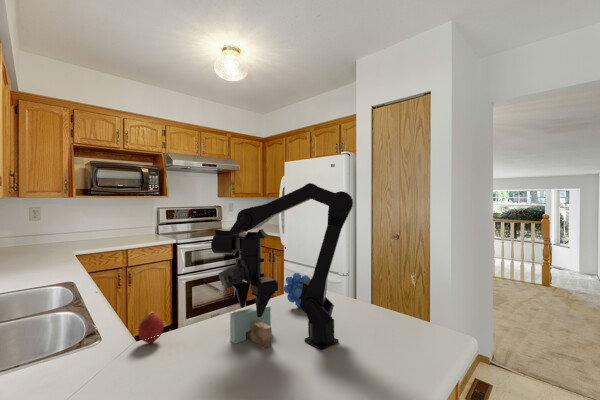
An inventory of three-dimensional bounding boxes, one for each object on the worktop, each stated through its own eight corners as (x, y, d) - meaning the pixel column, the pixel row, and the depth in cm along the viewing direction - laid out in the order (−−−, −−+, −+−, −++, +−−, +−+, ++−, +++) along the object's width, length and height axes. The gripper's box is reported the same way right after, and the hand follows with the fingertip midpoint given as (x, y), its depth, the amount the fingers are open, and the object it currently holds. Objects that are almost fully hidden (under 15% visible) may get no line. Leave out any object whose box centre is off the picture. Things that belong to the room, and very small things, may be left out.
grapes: (281, 311, 96) (281, 275, 96) (284, 304, 103) (284, 270, 103) (316, 312, 95) (316, 276, 95) (317, 305, 102) (317, 271, 102)
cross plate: (270, 331, 82) (270, 306, 82) (234, 343, 75) (234, 316, 75) (266, 328, 83) (265, 304, 84) (230, 340, 76) (230, 313, 77)
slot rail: (271, 345, 74) (271, 327, 74) (263, 348, 72) (263, 329, 72) (241, 325, 86) (241, 309, 86) (233, 327, 85) (233, 311, 85)
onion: (153, 350, 72) (152, 317, 72) (132, 347, 73) (132, 315, 73) (168, 339, 77) (168, 309, 78) (149, 337, 79) (149, 307, 79)
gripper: (208, 253, 82) (208, 309, 81) (240, 263, 67) (240, 331, 67) (243, 249, 89) (244, 300, 88) (279, 257, 74) (279, 319, 74)
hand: (250, 312), depth 79 cm, fingers open, 9 cm apart
